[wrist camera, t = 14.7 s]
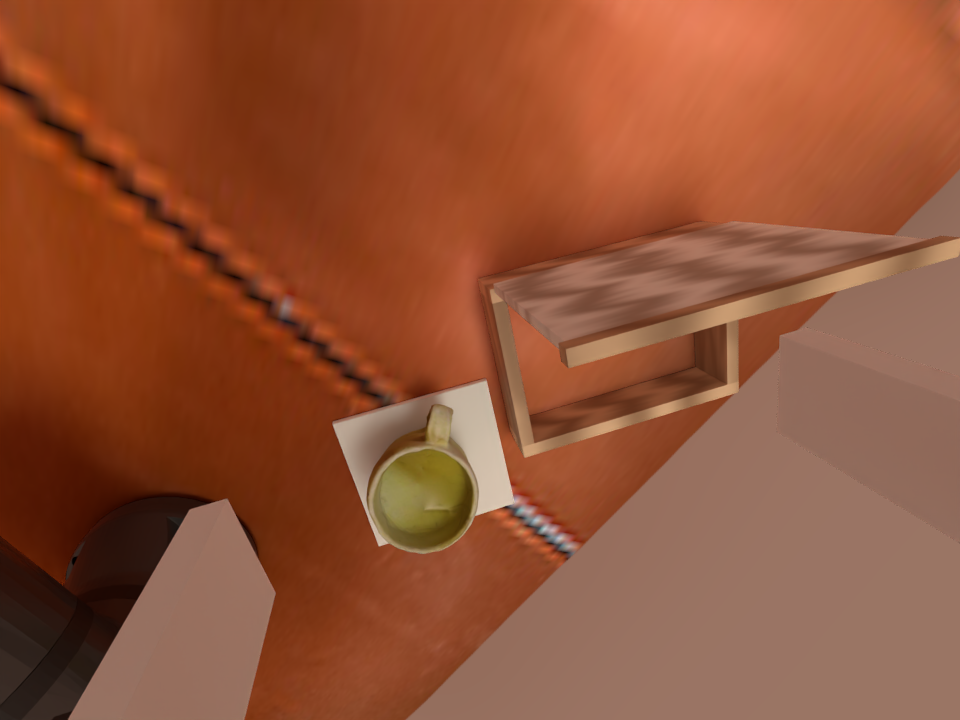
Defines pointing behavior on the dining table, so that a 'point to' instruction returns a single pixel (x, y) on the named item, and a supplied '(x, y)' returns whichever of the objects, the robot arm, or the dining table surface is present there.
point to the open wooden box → (672, 309)
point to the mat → (384, 425)
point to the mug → (423, 488)
